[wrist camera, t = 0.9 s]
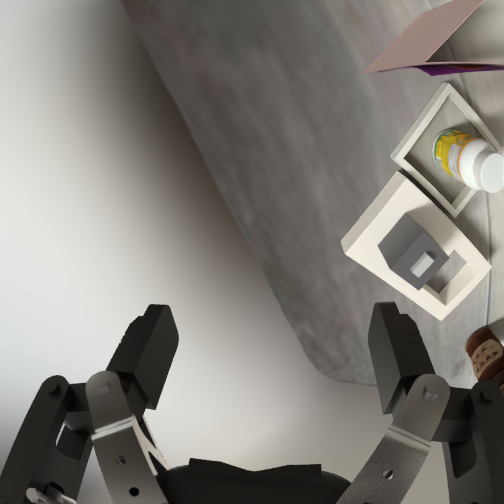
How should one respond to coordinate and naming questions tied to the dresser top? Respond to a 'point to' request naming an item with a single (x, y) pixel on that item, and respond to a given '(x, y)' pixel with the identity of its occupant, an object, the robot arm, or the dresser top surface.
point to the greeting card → (430, 42)
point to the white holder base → (413, 247)
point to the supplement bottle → (469, 160)
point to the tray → (419, 127)
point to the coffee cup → (487, 356)
